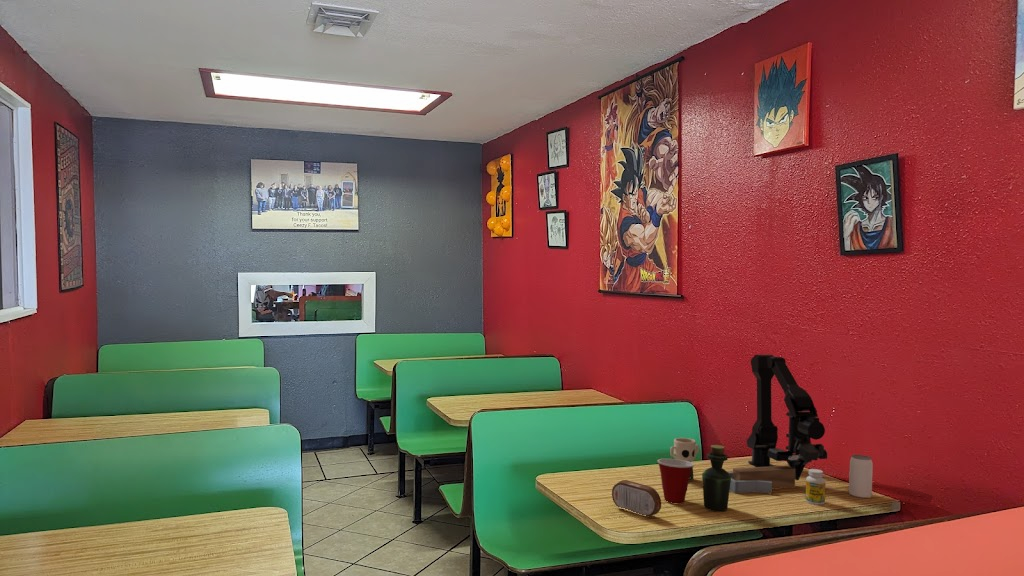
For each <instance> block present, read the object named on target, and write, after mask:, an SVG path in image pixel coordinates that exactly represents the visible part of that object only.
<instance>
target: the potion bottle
mask: <svg viewBox="0 0 1024 576" xmlns="http://www.w3.org/2000/svg"><path fill="white" fill-rule="evenodd" d="M710 451H711V452H707V455H706V459H708V460H710V464H711V467H708V468H707V469H705V470H703V472H702V474H701V477H702V493H703V495H702V497H703V506H704V508H705V509H706V510H708V511H711V512H717V511H718V512H719V513H720V512H726V511H727V510H728V505H729V497H730V492H731V491H730V483H731V476H730V474H729V473H728V472H729V471H727V470H726V469H724V468H723V466H724V462H726V461H728V456H727V454H726V453H724V451H725V446H723V445H721V444H720V445H719V444H711V445H710Z"/></svg>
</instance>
